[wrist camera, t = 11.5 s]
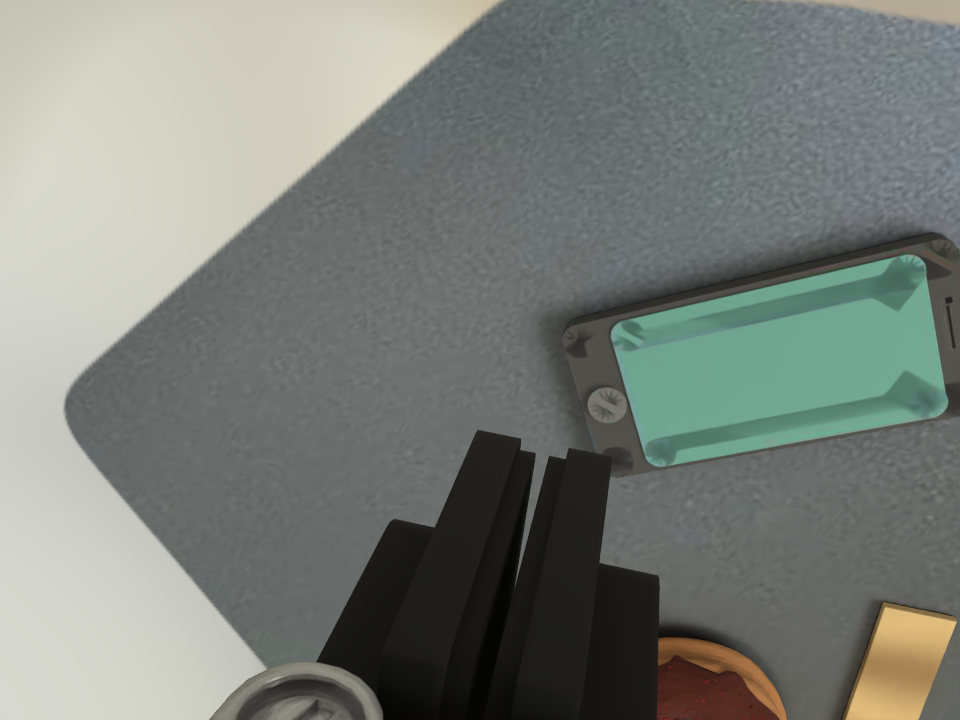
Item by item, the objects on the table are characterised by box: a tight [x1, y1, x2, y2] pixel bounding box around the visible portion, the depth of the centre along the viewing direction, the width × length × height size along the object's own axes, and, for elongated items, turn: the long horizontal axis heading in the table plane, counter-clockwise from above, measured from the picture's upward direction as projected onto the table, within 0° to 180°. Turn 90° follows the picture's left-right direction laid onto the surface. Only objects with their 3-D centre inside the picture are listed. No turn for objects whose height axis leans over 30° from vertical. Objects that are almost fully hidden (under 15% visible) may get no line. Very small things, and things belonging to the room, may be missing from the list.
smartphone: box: [562, 233, 960, 478], centre depth 35 cm, size 7×1×15 cm
